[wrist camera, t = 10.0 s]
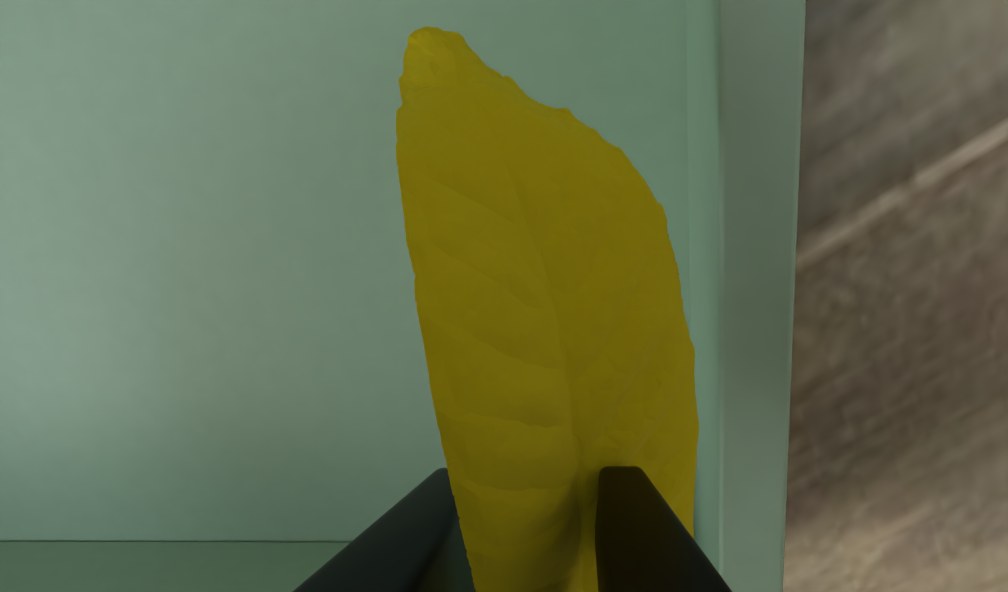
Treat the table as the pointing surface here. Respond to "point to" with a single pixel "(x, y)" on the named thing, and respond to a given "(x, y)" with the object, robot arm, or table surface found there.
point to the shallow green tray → (338, 269)
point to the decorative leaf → (538, 317)
